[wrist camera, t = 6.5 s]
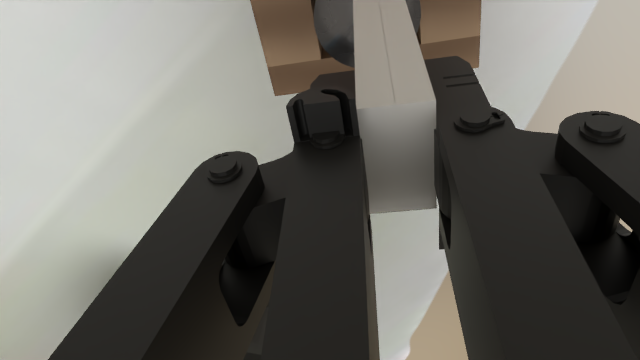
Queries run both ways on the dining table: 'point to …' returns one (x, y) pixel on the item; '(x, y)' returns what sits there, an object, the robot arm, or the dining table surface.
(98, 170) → the dining table surface
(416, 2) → the grey lid glass jar
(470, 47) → the wooden jar holder
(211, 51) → the dining table surface
